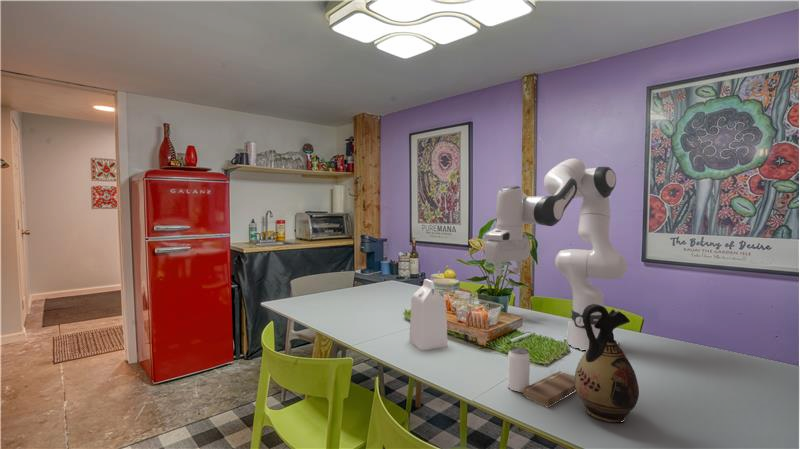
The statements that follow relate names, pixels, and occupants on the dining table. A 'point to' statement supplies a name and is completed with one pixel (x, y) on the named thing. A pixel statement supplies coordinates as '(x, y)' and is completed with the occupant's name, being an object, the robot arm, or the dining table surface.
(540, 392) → the plank
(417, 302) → the milk
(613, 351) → the ceramic jug
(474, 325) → the ammunition clip
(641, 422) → the dining table surface
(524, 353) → the can
